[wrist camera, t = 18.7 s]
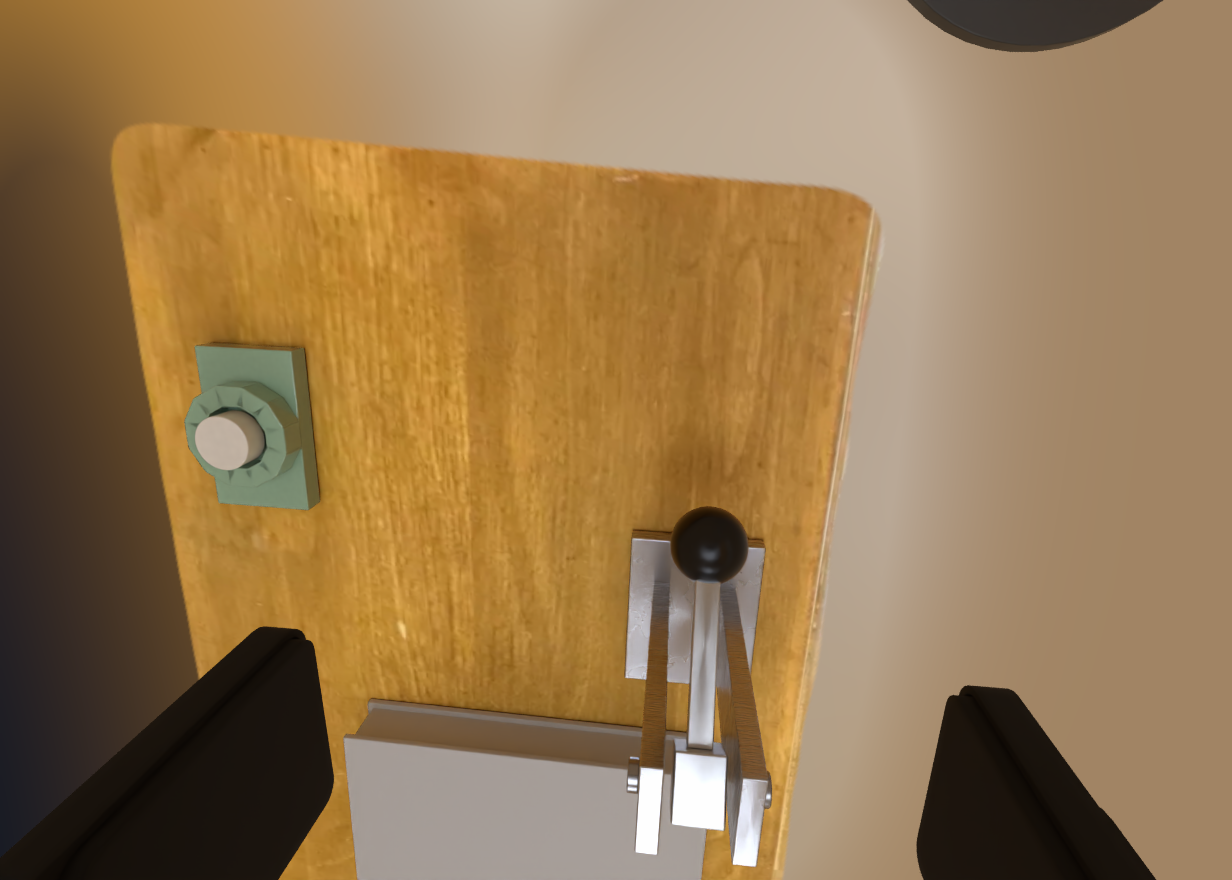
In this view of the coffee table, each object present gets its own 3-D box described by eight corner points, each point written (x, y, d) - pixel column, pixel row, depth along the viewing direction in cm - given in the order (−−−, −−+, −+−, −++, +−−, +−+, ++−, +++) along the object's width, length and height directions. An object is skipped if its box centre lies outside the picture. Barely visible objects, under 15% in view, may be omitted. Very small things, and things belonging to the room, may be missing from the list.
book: (342, 737, 41) (712, 779, 39) (370, 697, 45) (709, 734, 43) (362, 940, 46) (689, 986, 44) (386, 890, 50) (688, 930, 48)
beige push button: (209, 408, 36) (190, 414, 35) (262, 411, 36) (244, 418, 35) (217, 460, 37) (198, 468, 36) (268, 463, 37) (251, 472, 36)
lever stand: (632, 529, 39) (603, 703, 24) (763, 539, 38) (818, 725, 23) (625, 666, 42) (595, 899, 27) (746, 678, 41) (786, 923, 26)
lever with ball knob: (671, 509, 31) (673, 498, 28) (744, 514, 31) (755, 504, 28) (653, 800, 28) (652, 828, 25) (734, 809, 28) (745, 839, 24)
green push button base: (210, 342, 38) (171, 349, 35) (305, 347, 38) (274, 355, 35) (232, 495, 41) (198, 513, 38) (321, 502, 40) (294, 520, 38)
